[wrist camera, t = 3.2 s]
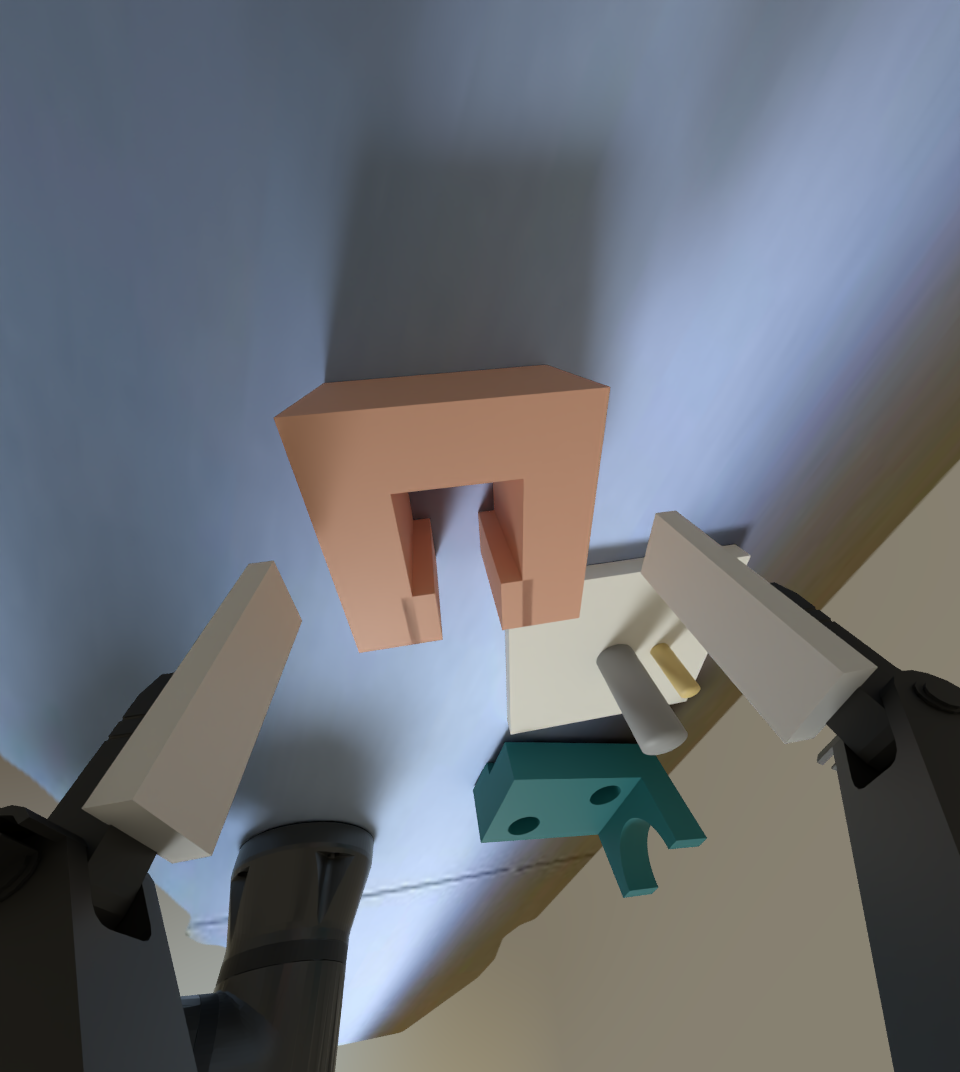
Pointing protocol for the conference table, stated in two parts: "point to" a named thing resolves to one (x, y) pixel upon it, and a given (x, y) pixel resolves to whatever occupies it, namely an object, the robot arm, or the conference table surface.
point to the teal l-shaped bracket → (586, 802)
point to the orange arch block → (449, 461)
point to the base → (578, 641)
